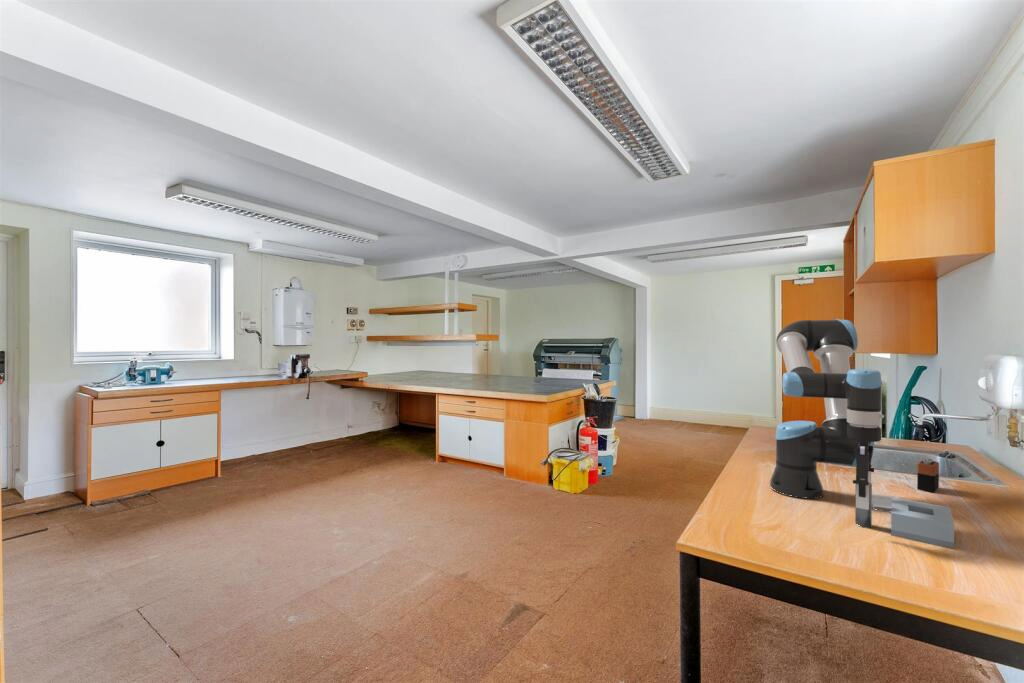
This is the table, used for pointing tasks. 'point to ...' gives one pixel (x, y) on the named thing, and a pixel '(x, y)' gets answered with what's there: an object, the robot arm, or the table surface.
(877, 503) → the external hard drive
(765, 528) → the table surface
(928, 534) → the socket block
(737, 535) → the table surface
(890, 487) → the table surface
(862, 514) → the pin
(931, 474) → the battery
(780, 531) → the table surface
